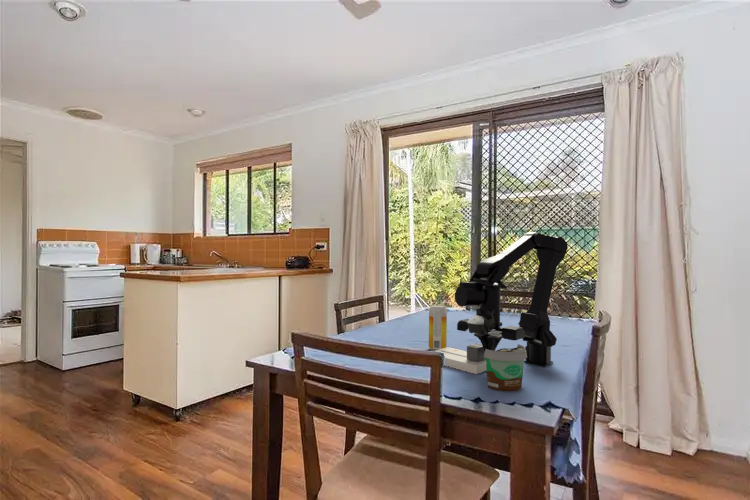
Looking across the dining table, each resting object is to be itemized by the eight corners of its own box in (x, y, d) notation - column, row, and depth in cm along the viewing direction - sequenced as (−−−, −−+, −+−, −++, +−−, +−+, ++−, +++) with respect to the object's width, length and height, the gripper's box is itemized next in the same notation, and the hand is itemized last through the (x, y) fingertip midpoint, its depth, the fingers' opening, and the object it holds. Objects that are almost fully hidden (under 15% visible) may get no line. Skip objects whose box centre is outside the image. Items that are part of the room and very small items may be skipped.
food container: (501, 396, 96) (501, 355, 96) (483, 388, 102) (483, 349, 102) (537, 388, 102) (538, 349, 102) (518, 381, 108) (519, 343, 107)
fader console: (496, 366, 121) (496, 358, 121) (476, 374, 113) (476, 365, 113) (447, 354, 134) (447, 346, 134) (426, 360, 126) (426, 352, 126)
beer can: (445, 347, 142) (446, 305, 142) (447, 352, 136) (447, 307, 136) (428, 347, 143) (428, 304, 143) (428, 351, 137) (429, 307, 137)
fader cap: (486, 358, 120) (486, 345, 120) (477, 362, 116) (477, 348, 116) (475, 356, 122) (476, 343, 122) (466, 359, 119) (466, 345, 119)
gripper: (446, 303, 117) (445, 357, 117) (506, 311, 104) (505, 372, 104) (467, 300, 125) (467, 350, 125) (526, 307, 112) (525, 363, 112)
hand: (489, 358), depth 116 cm, fingers closed
